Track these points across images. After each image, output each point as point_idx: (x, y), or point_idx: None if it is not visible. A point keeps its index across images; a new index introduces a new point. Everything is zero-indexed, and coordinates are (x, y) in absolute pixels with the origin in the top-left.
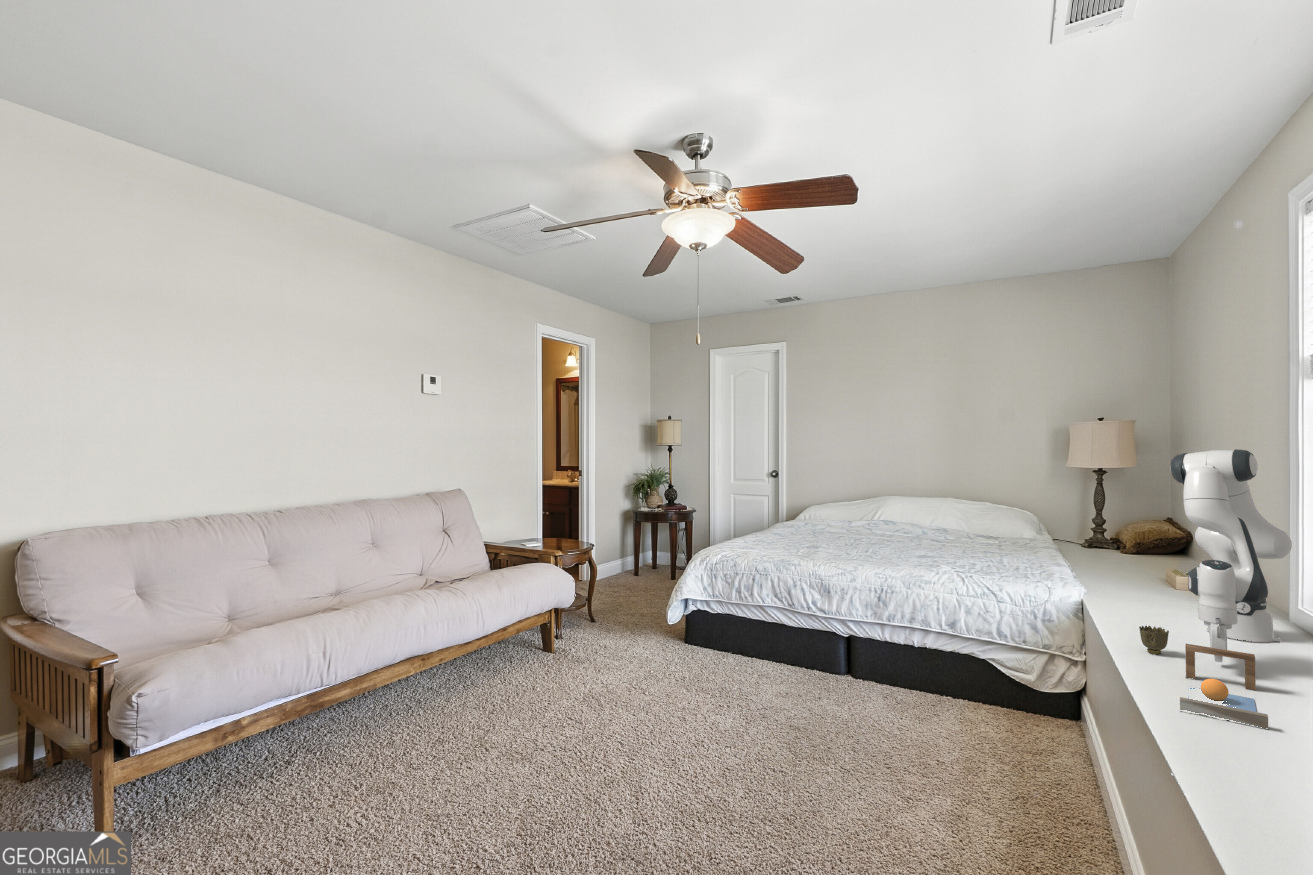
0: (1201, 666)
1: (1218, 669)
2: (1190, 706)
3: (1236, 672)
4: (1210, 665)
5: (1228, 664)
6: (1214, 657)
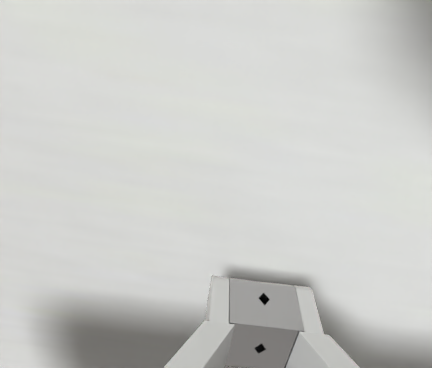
0: (153, 140)
1: (146, 242)
2: None
3: (146, 319)
4: (239, 211)
5: (339, 314)
6: (210, 299)
